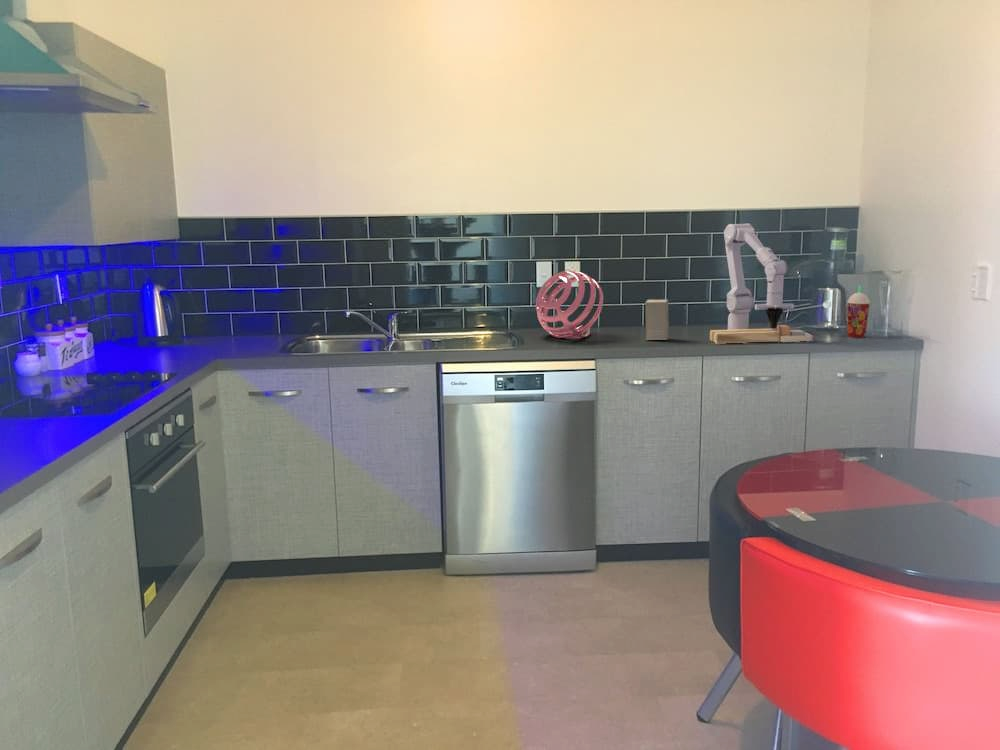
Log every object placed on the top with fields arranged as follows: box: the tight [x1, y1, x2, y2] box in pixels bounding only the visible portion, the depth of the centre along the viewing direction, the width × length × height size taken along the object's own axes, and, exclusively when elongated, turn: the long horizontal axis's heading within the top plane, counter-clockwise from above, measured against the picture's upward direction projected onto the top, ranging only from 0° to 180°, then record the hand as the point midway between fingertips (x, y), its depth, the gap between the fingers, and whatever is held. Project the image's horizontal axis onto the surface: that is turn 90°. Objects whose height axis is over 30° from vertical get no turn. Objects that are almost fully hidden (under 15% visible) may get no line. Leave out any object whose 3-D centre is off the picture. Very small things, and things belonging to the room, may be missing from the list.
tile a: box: [776, 324, 791, 339], centre depth 323 cm, size 5×5×3 cm
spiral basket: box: [535, 270, 604, 340], centre depth 338 cm, size 28×28×27 cm
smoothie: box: [846, 285, 871, 339], centre depth 327 cm, size 8×8×20 cm
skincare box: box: [644, 299, 670, 341], centre depth 328 cm, size 8×7×16 cm
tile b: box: [790, 329, 806, 336], centre depth 324 cm, size 5×5×3 cm
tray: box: [779, 332, 814, 343], centre depth 324 cm, size 11×12×2 cm
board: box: [709, 327, 780, 345], centre depth 323 cm, size 9×24×4 cm, turn 93°
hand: (773, 327), depth 323 cm, fingers closed
